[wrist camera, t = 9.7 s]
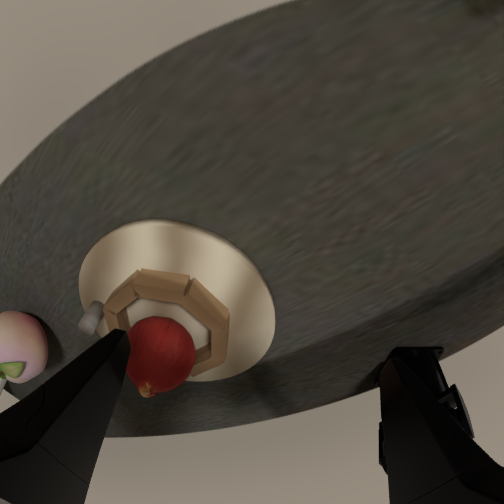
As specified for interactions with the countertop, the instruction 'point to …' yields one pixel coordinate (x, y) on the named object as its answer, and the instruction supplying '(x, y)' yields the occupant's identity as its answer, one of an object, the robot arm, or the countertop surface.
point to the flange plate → (180, 292)
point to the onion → (159, 355)
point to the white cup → (2, 384)
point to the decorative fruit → (21, 347)
